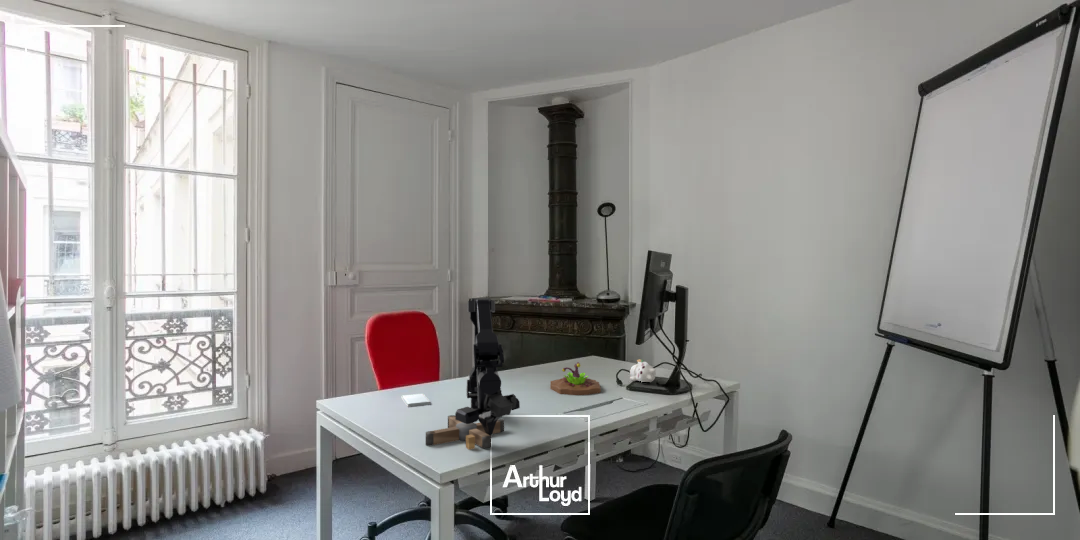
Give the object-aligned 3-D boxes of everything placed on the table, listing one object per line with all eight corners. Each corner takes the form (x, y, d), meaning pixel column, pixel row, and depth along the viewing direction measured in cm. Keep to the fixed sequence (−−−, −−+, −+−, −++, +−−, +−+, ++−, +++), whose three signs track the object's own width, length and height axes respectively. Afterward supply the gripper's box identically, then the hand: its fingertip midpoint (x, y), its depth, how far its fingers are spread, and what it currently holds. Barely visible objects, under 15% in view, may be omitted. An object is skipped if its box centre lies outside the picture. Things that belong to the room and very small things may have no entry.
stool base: (411, 432, 166) (411, 420, 166) (486, 419, 179) (486, 408, 179) (438, 455, 148) (437, 442, 148) (518, 439, 160) (518, 427, 160)
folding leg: (468, 440, 159) (468, 430, 159) (476, 438, 160) (476, 428, 160) (485, 449, 152) (485, 438, 152) (493, 447, 153) (493, 436, 153)
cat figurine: (630, 356, 238) (651, 358, 224) (644, 364, 240) (665, 367, 227) (621, 376, 235) (642, 380, 221) (635, 385, 238) (657, 388, 224)
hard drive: (431, 401, 197) (423, 393, 208) (407, 403, 193) (401, 395, 205) (431, 406, 197) (423, 397, 208) (407, 408, 193) (401, 399, 205)
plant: (557, 397, 208) (557, 367, 208) (546, 384, 227) (546, 357, 227) (608, 394, 212) (608, 365, 212) (592, 382, 231) (593, 355, 231)
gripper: (477, 397, 143) (479, 456, 144) (531, 382, 155) (533, 437, 157) (453, 389, 151) (455, 445, 152) (506, 375, 164) (508, 427, 165)
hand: (489, 438), depth 156 cm, fingers closed
